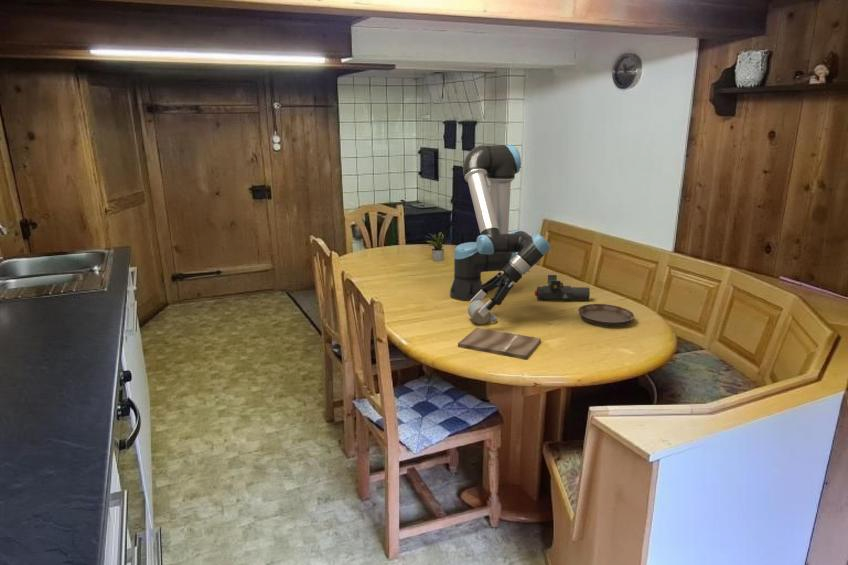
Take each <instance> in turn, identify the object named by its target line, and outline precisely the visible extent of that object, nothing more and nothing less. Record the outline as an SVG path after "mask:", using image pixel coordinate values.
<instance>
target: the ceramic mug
mask: <svg viewBox="0 0 848 565" xmlns="http://www.w3.org/2000/svg"><path fill="white" fill-rule="evenodd" d="M486 304H487V303H485V301H482V300H476V301H473V302H472V303H471V302H470V304H469V305H468V307H467V313H468V315H469V317H470V318H471V320H472V321H473V322H474V323H475V324H477V325H481V326H482V325H485V324H487V323H488V322H491V323H497V321H498V318H497V316H496V315H494V314H492V313H491V310H490V311H489V312H488V313H487V314H486V315H485V316H484V317H482V316H481V315H480V314H479V313H478V312H479V311H480V310H481V309H482V308H483V307H484V306H485V305H486Z"/></svg>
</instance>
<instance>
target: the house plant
mask: <svg viewBox="0 0 848 565" xmlns="http://www.w3.org/2000/svg"><path fill="white" fill-rule="evenodd" d="M428 234H429V235H430V236H431V237H430V236H428V235H427V238H429V239H430V240H426V242H427V244H428V245H427V247H428V246H429V248H430V247H433V248H432V249H431V253H432V254H431V255H432V259H433V261H434V262H443V259H444V253H445V246H444V245H445V244H446V242H444V241H445V240H446V238H448V236H447V237H445V235H444V234H442V232H441V231H440V232H438V235H436V234H435V233H433V234H432V233H430V232H429V233H428Z"/></svg>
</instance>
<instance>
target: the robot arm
mask: <svg viewBox="0 0 848 565" xmlns="http://www.w3.org/2000/svg"><path fill="white" fill-rule="evenodd" d="M463 161H464V162H463V165H462V166H463V167H462V173H463V178H464V181H465V182H467V183H468V188H469V193H470V196H471V200H472V201H471V202H472V204H473V208H474V213H475V217H476V222H477V225H478V229H479V233H480V235H478V236H477V237H476V241H470V242H464V243H460V244H458V245H457V246H456V247H455V249H454V255H453V259H454V264H453V265H454V267H453V274H454V279H453V282H452V284H451V286H450V291H449V295H450V298H453V299H455V300H458V301H469V303H470V304H471V303H472V302H473V301H476V300H480V301H482V300H483V299H484V298H485V297H486V296H487V295H488V294H489V293H490V292H491V291H492V290H495V289H496V291H495V293H494V295H493V297H492V298H490V299H489V300H488V301H487V302H486V303H485V304H486V305H485V306H484V307H483V308H482V309H481V310H480V311H479V312H478V313H479V314H480V315H481V316H482V317H484V316H485V315H486V314H487V313H488V312H489V311H490V312H491V310H492V309H494V308H495V306H500V305H501V304H502V303H503V302H504V300H505V298H506V297H507V296H508V294H509V293H510V291H511V289H512V288H513V287H514V286H515V284H517V283H518V282H519V281H520V280H521V279H522V278H523V276H524V275H526V274H527V272H530V269H532V267H534V266H535V265H536V264H537V263H538V262H539V261H540V260H541V258H543V257H544V256H545V255H546V253H547V252H548V251H549V250H550V249H551V248H552V247H551V244H550V242H549V241H548V240H547V239H546V238H545V237H544V236H542V235H541V234H539V233H538V234H535V235H534V236H532V235H530V234H529V233H528V232H526V231H524V230H522V229H516V230H514V231H512V232H511V233H509V228H510V226H509V224H510V204H511V187H512V186H511V185H512V182H513V181H514V180H515V176H516V174H518V173H519V172H520V170H521V166H522V159H521V154H520V152H519V150H518V148H517V147H516V146H515V145H509V144H508V145H507V144H496V145H494V144H493V145H491V144H490V145H483V144H482V145H478V146H476V147H474V148H472V149H471V150H470V151H469V152H468V154H467V155H466V156H465V159H464V160H463ZM488 181H489V182H490V186H489V184H488ZM489 272H498V273H497V274H496V275H494V276H493V277H492V278H490V279H489V280H488V281H486V282H485V283H483V282H482V279H481V278H482V273H489ZM512 282H513V283H512ZM514 283H515V284H514Z"/></svg>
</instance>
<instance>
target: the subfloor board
mask: <svg viewBox="0 0 848 565" xmlns="http://www.w3.org/2000/svg"><path fill="white" fill-rule="evenodd" d="M541 341H542V339H541V338H540V337H534V336H528V335H523V334H518V333H517V334H516V333H512V332H504V331H499V330H493V329H487V328H480V327H476V328H475V329H474V330H472V331H471V332H470V333H468V334H467V335H466V336H464V338H462V339H461V340H460V341H459V342H457V347H459V348H462V349H468V350H469V349H470V350H474V351H479V352H485V353H491V354H494V355H495V354H496V355H501V356H506V357H512V358H517V359H521V360H527V359H528V358H529V357H530V356H531V354H533V352H534V351H535V350H536V348H537V347H538V346H539V345H540V343H541Z"/></svg>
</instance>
